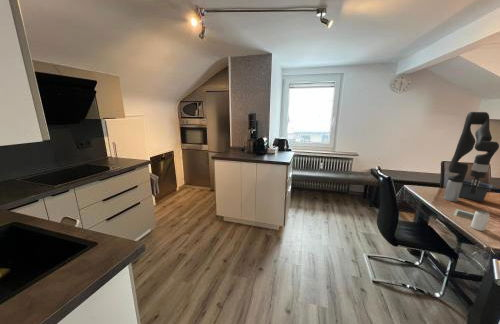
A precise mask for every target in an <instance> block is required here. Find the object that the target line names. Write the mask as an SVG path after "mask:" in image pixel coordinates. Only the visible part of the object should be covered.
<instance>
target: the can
mask: <svg viewBox="0 0 500 324" xmlns="http://www.w3.org/2000/svg"><path fill="white" fill-rule="evenodd" d="M489 219H490V213H489V212H488V211H485V210H482V209H477V210H476V211H474V217H473V220H472V221H471V224H470V227H471V228H472V229H473V230H476V231H479V232H484V231H485V232H486V228H487V226H488V222H489Z"/></svg>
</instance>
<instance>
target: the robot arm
mask: <svg viewBox="0 0 500 324" xmlns="http://www.w3.org/2000/svg"><path fill="white" fill-rule="evenodd" d="M463 125H464V126H463V128H462V132H461V135H460V137H459V140H458V142H457V145H456V148H455V151H454V155H453V156H452V158H451V160H450V163H449V166H448V168H447V169H448V172H449V173H453V174H455V175H450V176H448V180H447V181H446V182H447V183H446V186H445V191H444V194H443V199H444V200H446V201H447V202H448V201H449V202H455V203H456V202H459V198H460V197H459V195H460V192H461V188H462V185H463V181H464V180H466V179H465V178H466V176H467V173H468V171H469V164H468V163H466V162H459V161H460V160H461V159H462V158H463V157H465V155H468V154H469V153H470V152H472V150H473V149H475V150H476V151H477V152H484V154H483V153H482V154H477V155H475V157H474V161H473V164H472V166H471V169H470V173H469V176H470V177H472V179H471V181H472V184H471V185H472V187H471V192H470V193H471V194H475V191H476V189H477V187H478V186H479V183H481V182H482V181H481V179H485V178H486V177H487V174H488V171H489V166H490V162H491V160H492V158H493V156H494V155H495V154H496V153H497V151H498V150H499V148H500V144H499V143H498V142H497V141H492V139H493V137H492V134H491V130H490V115H489V113H488V112H486V111H470V112H468V114H466V117H465V121H464V124H463ZM472 125H475V126H476V125H481V126H480V127H478V128H476V131H475V136H474V135H473V133H472V129H471V127H472Z"/></svg>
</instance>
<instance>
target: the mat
mask: <svg viewBox="0 0 500 324" xmlns="http://www.w3.org/2000/svg"><path fill="white" fill-rule="evenodd" d="M458 211H462V212H465V213H469V214H473V215H474V214H475V212H474V213H473V212H470V211H465V210H462V209H459V208H456V209H455V211H454V213H453V215H452V216H453V217H458V218H460V219H465V220H469V221H471V222H472V220H470V219H466V218H463V217H459V216H456V215H457V212H458Z"/></svg>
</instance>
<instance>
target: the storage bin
mask: <svg viewBox="0 0 500 324" xmlns="http://www.w3.org/2000/svg"><path fill="white" fill-rule="evenodd" d="M471 184H472V180H468V179H464V181H463V185H462V188H461V192H460V195H459V198H463V199H467V200H472V201H475V202H476V201H477V202H479V203H481V202H482V203H483V202H484V200H485V199H486V196H487V194H488V191H490V190H491V189H492V188H493V185H492V184H489V183H486V182H485V183H484V182H480V183H479V186H478V187H477V189H476V191H475V194H471V193H470V192H471V187H472V185H471Z"/></svg>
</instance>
